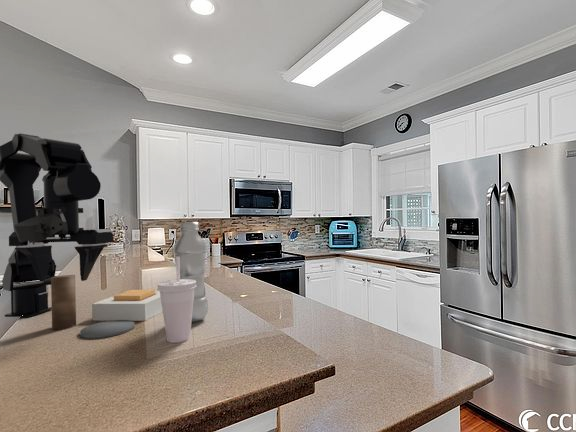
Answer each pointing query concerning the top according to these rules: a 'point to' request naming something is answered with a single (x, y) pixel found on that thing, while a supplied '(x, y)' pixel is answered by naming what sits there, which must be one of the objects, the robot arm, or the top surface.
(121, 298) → the button
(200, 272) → the plastic bottle
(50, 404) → the top surface
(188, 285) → the smoothie
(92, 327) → the slate mat
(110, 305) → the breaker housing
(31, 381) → the top surface
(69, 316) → the brown cylindrical post
